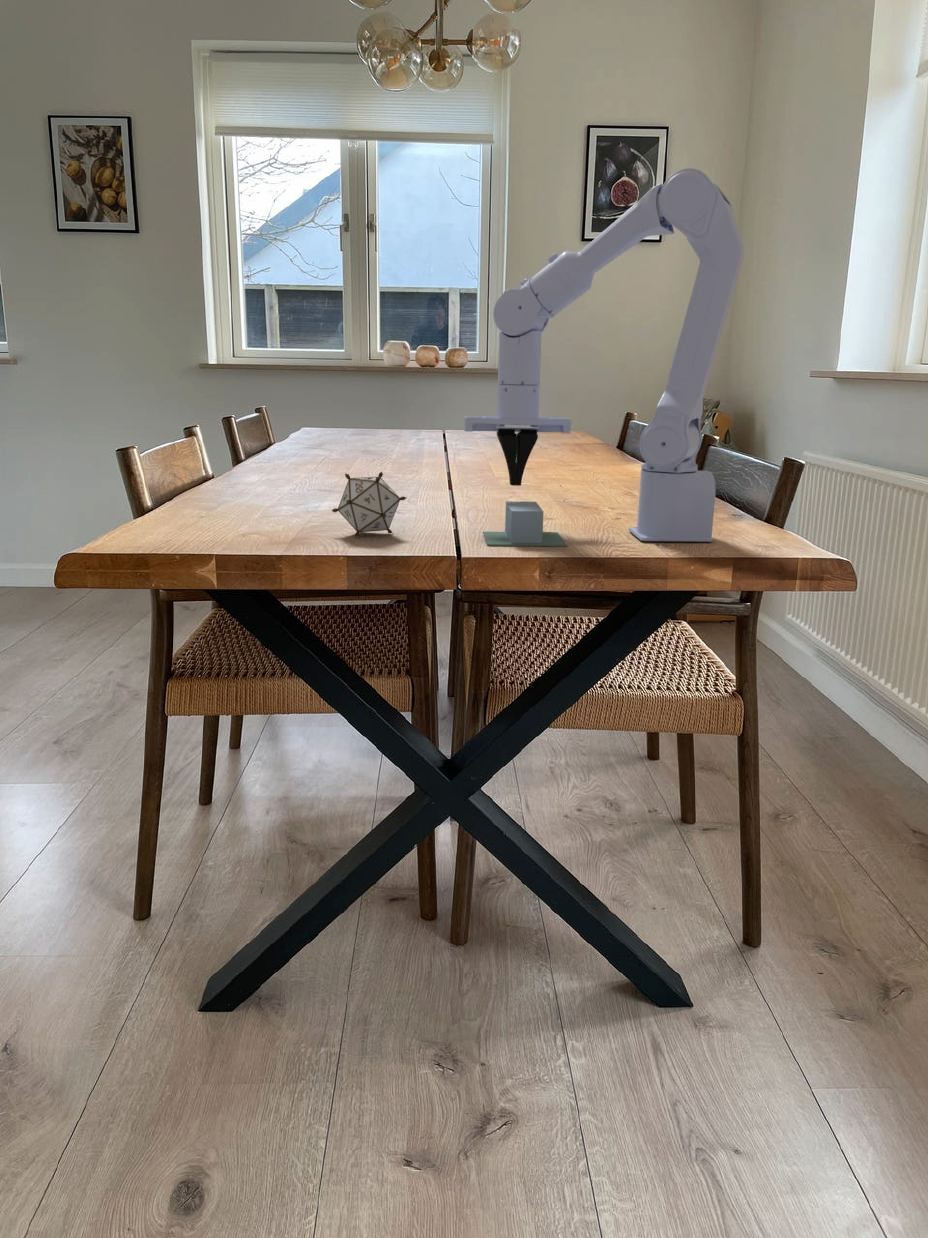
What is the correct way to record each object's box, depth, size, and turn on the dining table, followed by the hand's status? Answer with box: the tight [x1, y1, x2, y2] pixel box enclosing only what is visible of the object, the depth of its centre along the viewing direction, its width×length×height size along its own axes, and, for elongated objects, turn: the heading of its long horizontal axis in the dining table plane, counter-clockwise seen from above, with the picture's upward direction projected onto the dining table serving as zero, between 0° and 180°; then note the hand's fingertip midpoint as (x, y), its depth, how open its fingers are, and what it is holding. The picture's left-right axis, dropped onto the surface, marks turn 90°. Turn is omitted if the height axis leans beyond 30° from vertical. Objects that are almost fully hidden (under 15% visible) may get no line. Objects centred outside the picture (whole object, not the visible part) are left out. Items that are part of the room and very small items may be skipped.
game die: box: [331, 471, 407, 538], centre depth 122 cm, size 9×8×10 cm
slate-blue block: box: [504, 500, 544, 543], centre depth 122 cm, size 4×4×8 cm
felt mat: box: [482, 531, 568, 548], centre depth 122 cm, size 10×9×1 cm
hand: (515, 484), depth 132 cm, fingers closed
